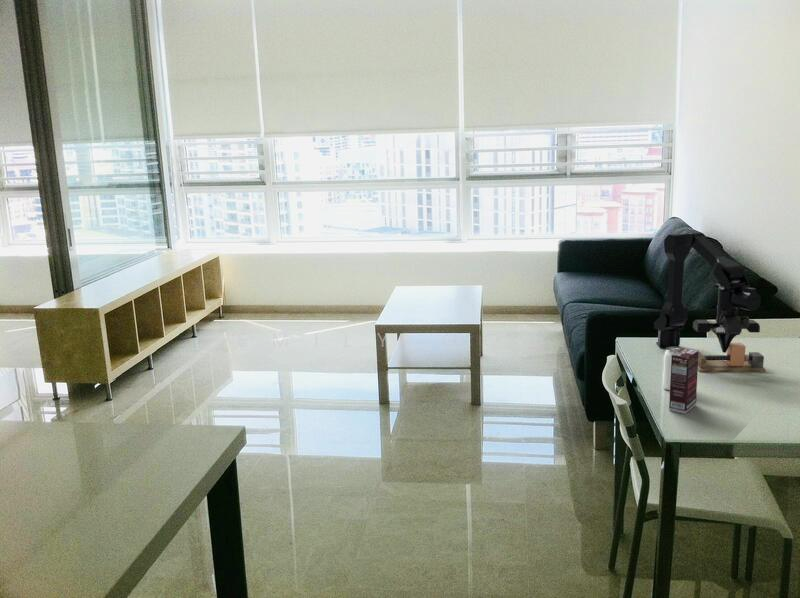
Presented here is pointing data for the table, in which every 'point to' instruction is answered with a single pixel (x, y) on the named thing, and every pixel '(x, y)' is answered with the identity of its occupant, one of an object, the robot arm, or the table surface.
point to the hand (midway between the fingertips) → (724, 352)
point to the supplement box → (683, 380)
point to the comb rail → (751, 364)
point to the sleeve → (736, 354)
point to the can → (668, 366)
